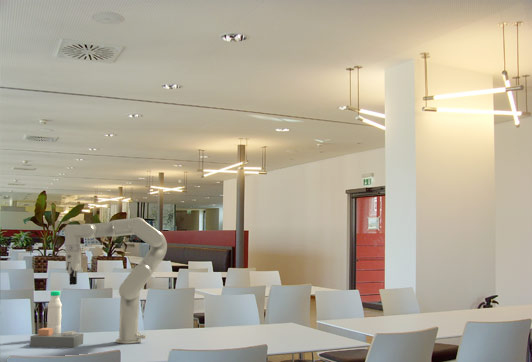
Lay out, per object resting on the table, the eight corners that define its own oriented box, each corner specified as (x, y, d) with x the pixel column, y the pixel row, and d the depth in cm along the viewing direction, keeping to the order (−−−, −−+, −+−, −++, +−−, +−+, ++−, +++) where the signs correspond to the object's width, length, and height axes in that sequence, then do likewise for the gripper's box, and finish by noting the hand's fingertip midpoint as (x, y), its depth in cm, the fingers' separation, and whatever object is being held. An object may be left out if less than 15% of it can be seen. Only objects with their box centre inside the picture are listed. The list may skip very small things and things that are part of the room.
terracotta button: (52, 338, 307) (53, 328, 307) (48, 339, 302) (48, 329, 302) (42, 337, 307) (43, 327, 308) (38, 339, 302) (38, 329, 303)
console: (83, 343, 309) (83, 333, 309) (73, 347, 297) (73, 337, 297) (41, 342, 311) (41, 332, 311) (30, 346, 299) (30, 336, 299)
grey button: (75, 341, 306) (76, 331, 306) (71, 343, 300) (72, 333, 301) (65, 341, 306) (66, 331, 306) (61, 343, 301) (61, 332, 301)
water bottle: (56, 340, 316) (57, 291, 318) (43, 340, 318) (45, 291, 320) (63, 338, 323) (64, 290, 325) (51, 338, 324) (52, 290, 327)
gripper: (74, 248, 308) (74, 285, 306) (85, 247, 322) (85, 283, 321) (60, 249, 308) (60, 285, 307) (71, 248, 323) (71, 283, 321)
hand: (73, 284), depth 314 cm, fingers closed
